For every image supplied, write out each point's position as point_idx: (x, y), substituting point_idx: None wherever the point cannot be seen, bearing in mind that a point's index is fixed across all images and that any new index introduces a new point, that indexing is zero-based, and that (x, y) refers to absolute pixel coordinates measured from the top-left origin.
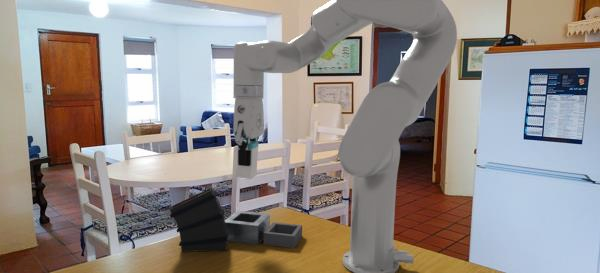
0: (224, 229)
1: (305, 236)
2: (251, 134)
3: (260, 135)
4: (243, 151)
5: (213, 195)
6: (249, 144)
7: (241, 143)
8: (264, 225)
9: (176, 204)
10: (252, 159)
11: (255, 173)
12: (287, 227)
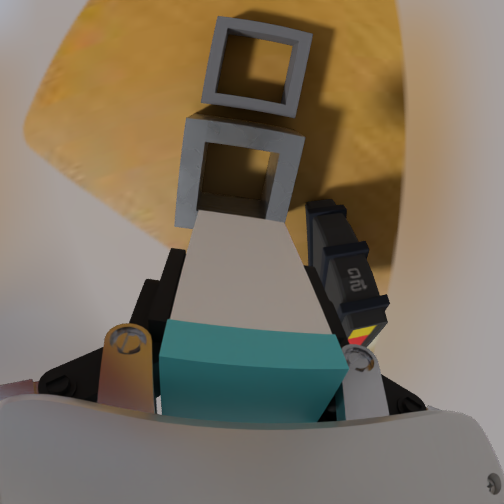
0: (347, 222)
1: (220, 15)
2: (484, 438)
3: (139, 414)
4: None
5: (389, 302)
6: (350, 386)
7: (437, 409)
8: (243, 123)
9: None
10: (296, 276)
11: (214, 217)
12: (221, 58)
